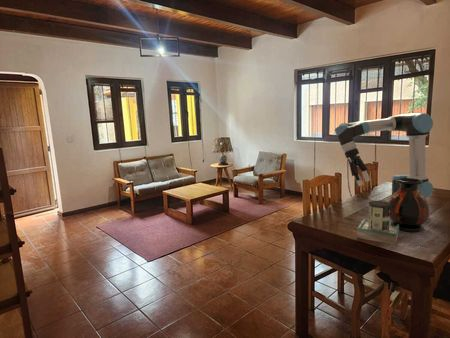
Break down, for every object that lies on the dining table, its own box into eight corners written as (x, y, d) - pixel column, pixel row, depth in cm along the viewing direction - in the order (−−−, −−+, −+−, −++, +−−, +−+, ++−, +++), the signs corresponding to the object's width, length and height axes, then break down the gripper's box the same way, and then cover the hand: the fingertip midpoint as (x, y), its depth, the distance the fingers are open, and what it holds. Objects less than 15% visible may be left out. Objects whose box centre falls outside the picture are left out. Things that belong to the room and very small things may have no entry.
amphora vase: (386, 219, 186) (388, 175, 182) (428, 224, 175) (431, 177, 170) (383, 230, 168) (386, 182, 164) (430, 237, 157) (433, 185, 152)
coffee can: (385, 225, 166) (386, 200, 163) (392, 232, 156) (393, 206, 153) (365, 224, 168) (366, 200, 165) (370, 231, 158) (371, 205, 155)
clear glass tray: (363, 228, 173) (363, 219, 172) (398, 234, 163) (399, 224, 162) (356, 237, 160) (357, 227, 160) (395, 244, 150) (395, 234, 149)
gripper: (351, 150, 189) (365, 181, 187) (336, 154, 171) (351, 189, 168) (363, 145, 184) (377, 177, 182) (349, 149, 166) (364, 185, 163)
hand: (364, 183), depth 175 cm, fingers open, 13 cm apart
